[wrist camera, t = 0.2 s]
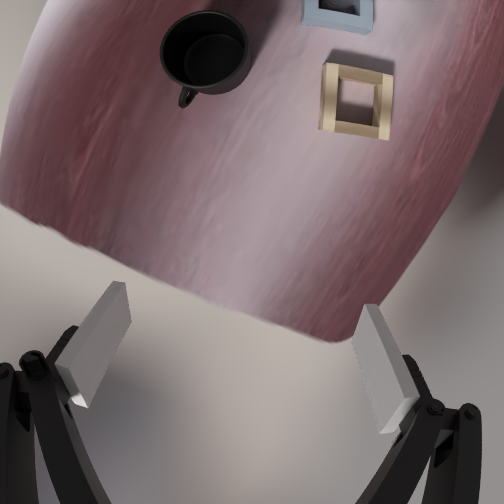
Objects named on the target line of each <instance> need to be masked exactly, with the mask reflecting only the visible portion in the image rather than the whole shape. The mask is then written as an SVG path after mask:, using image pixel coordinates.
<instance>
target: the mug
mask: <svg viewBox="0 0 504 504" xmlns="http://www.w3.org/2000/svg"><path fill="white" fill-rule="evenodd" d="M160 60H161V64H162V66H163V69H164V71H165V72H166V74H167V75H168V76H169V77H170V78H171V79H172V80H173V81H175V82H176V83H178V84H180V85H182V86H183V88H182V92H181V94H180V97H179V106H180V107H181V108H185V107H187V106H188V105H189V104H190V103H191V102H192V100H193V99H194V97H195V95H196V94H198V92H201V93H204V94H210V95H216V94H222V93H226V92H229V91H231V90H233V89H234V88H236V87H237V86H239V85H240V84H241V83H242V82H243V81H244V80H245V78H246V77H247V75H248V73H249V71H250V67H251V52H250V47H249V41H248V37H247V34H246V32H245V30H244V28H243V27H242V25H241V24H240V23H239V22H238V21H237V20H236V19H235V18H233V17H232V16H230V15H228V14H226V13H223V12H219V11H213V10H204V11H197V12H194V13H191V14H188V15H186V16H184V17H182V18H181V19H179V20H178V21H176V22H175V23H174V24H173V25H172V26H171V27H170V28H169V30H168V31H167V32H166V34H165V36H164V38H163V40H162V43H161V47H160ZM188 92H190V93H189V95H188ZM187 95H188V96H187ZM186 97H187V98H186Z"/></svg>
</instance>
